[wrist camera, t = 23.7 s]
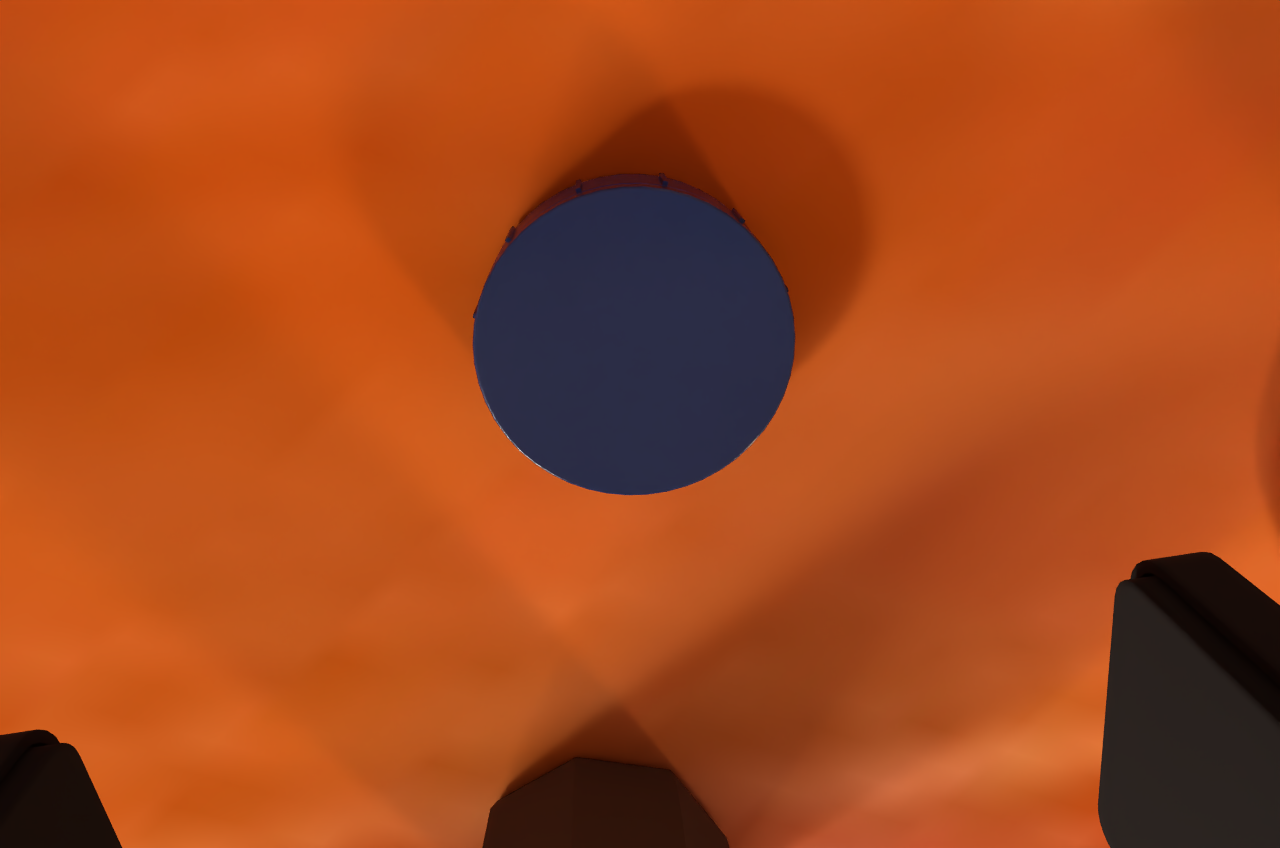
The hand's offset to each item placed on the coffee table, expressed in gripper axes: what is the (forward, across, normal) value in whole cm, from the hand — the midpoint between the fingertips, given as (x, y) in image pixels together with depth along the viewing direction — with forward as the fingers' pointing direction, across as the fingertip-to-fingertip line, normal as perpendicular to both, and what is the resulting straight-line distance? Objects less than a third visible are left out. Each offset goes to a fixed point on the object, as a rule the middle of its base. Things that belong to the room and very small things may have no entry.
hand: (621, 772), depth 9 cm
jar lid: (+13, -1, 0) cm, 13 cm away
